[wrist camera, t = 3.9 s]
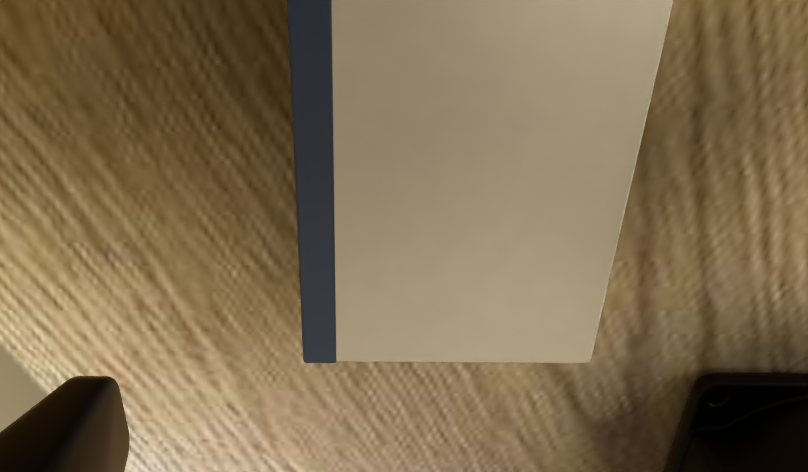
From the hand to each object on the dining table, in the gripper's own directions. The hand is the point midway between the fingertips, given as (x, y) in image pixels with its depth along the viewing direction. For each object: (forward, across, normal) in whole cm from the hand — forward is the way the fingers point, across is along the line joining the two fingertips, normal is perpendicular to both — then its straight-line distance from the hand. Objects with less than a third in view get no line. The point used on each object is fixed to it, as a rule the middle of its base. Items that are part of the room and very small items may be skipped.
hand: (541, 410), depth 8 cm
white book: (+8, 0, 0) cm, 8 cm away
